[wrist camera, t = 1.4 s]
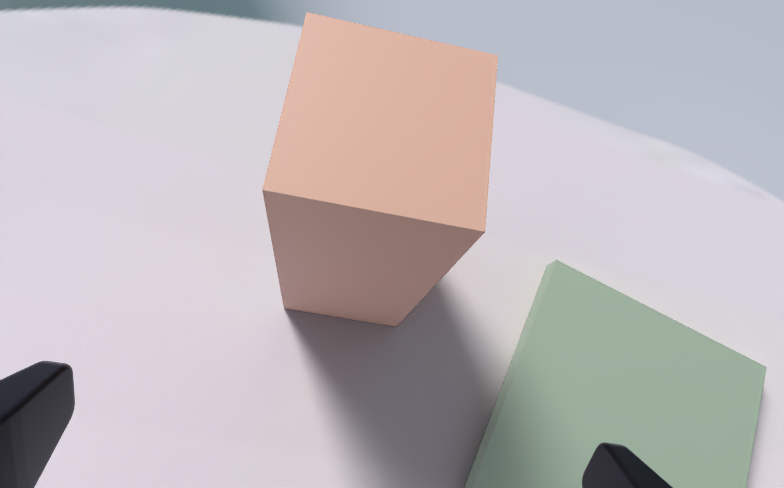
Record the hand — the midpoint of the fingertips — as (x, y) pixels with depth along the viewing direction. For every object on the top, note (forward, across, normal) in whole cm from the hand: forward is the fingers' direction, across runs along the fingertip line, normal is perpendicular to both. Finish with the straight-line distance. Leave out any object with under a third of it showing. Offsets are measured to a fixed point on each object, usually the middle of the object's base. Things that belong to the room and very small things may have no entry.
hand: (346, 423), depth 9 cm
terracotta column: (+14, 0, +4) cm, 15 cm away
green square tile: (+10, -13, +8) cm, 18 cm away
